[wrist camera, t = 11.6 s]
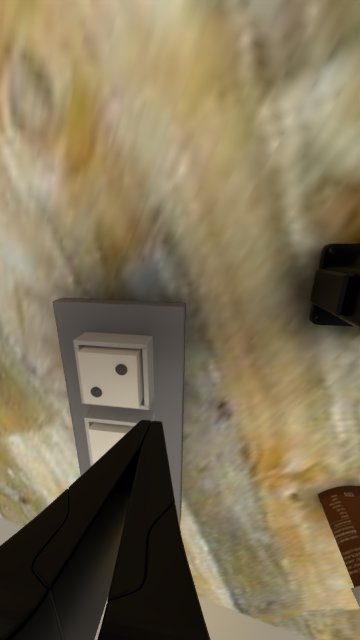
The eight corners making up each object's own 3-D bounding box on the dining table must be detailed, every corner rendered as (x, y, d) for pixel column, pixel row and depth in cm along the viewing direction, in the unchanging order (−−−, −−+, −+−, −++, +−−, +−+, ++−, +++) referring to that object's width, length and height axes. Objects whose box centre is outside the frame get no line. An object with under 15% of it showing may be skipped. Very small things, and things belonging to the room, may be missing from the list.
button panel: (185, 303, 20) (181, 313, 17) (181, 514, 29) (177, 548, 26) (62, 297, 22) (36, 306, 18) (92, 501, 30) (78, 532, 27)
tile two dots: (143, 345, 20) (135, 356, 18) (145, 394, 21) (138, 409, 19) (89, 342, 20) (76, 352, 18) (94, 389, 22) (83, 403, 20)
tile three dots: (146, 419, 22) (140, 435, 20) (147, 457, 24) (142, 476, 22) (98, 414, 23) (87, 430, 21) (102, 452, 24) (93, 470, 22)
